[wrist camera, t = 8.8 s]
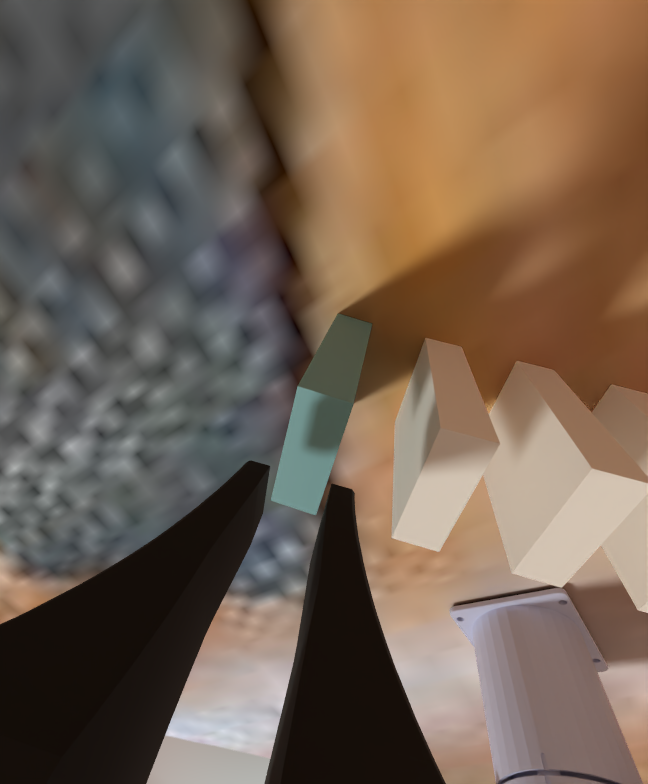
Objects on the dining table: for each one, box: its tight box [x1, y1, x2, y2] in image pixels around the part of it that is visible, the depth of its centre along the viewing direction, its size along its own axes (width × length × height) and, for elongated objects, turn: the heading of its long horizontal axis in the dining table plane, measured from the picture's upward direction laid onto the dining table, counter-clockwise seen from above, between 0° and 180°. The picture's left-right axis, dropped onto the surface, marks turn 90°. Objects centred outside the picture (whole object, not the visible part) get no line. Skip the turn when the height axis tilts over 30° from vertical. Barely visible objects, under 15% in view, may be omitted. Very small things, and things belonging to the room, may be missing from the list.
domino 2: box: [392, 338, 500, 552], centre depth 15 cm, size 2×5×8 cm, turn 169°
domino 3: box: [483, 361, 648, 588], centre depth 15 cm, size 2×5×8 cm, turn 169°
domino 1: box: [271, 314, 372, 515], centre depth 16 cm, size 2×5×8 cm, turn 166°
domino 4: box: [592, 384, 648, 613], centre depth 15 cm, size 2×5×8 cm, turn 169°
